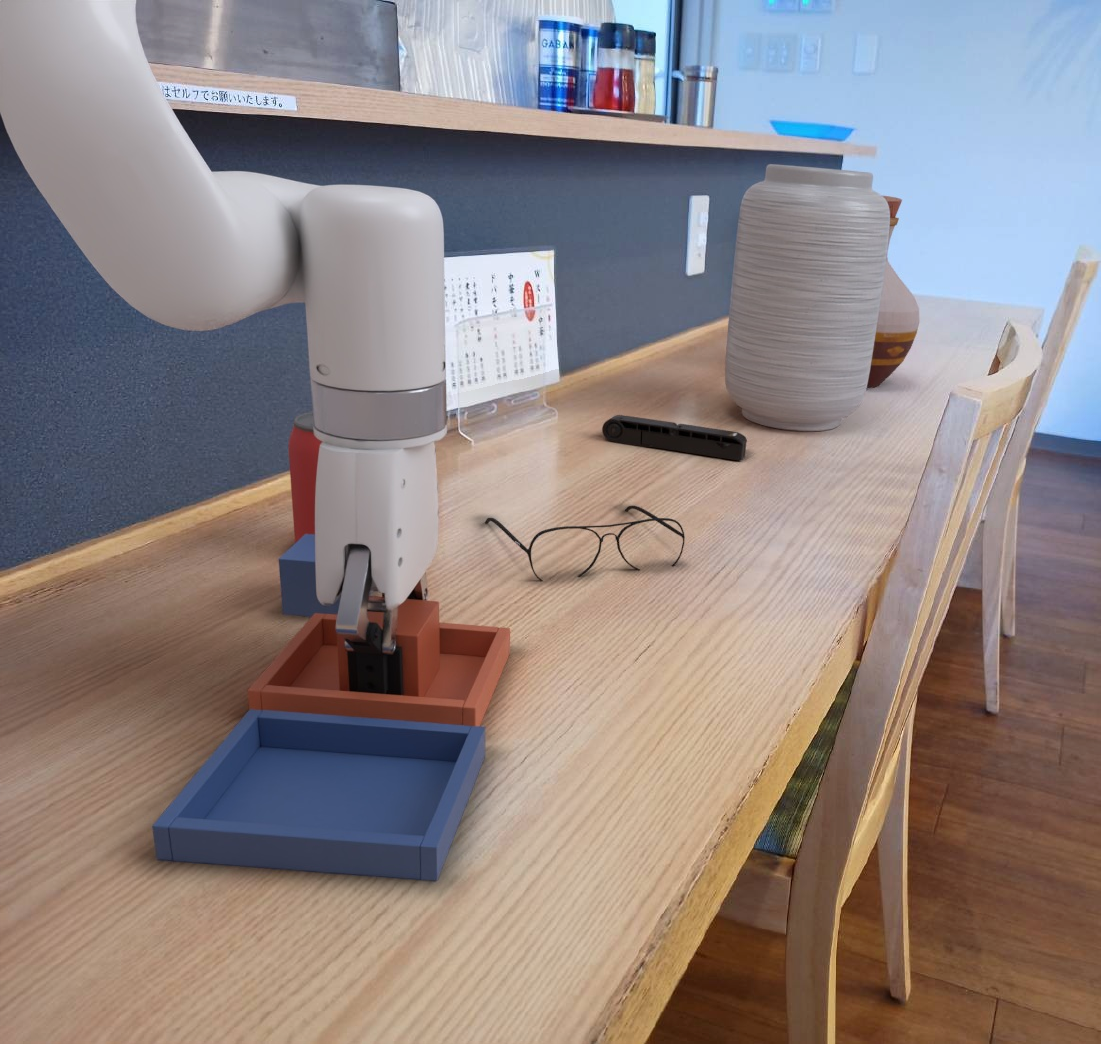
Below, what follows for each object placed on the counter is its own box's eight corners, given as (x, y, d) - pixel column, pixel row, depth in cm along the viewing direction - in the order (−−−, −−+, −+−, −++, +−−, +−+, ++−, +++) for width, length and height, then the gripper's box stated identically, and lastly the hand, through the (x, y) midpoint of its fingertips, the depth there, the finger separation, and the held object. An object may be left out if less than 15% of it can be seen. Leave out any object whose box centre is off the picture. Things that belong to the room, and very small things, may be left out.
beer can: (278, 560, 82) (267, 420, 78) (333, 535, 88) (325, 404, 84) (341, 577, 80) (334, 434, 76) (394, 551, 86) (389, 417, 82)
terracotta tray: (250, 727, 60) (246, 690, 59) (317, 645, 70) (314, 612, 69) (475, 745, 60) (475, 707, 59) (510, 660, 70) (510, 627, 69)
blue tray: (157, 869, 48) (150, 825, 47) (253, 746, 58) (249, 708, 57) (437, 891, 48) (436, 847, 47) (485, 764, 58) (485, 726, 57)
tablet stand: (601, 440, 123) (602, 417, 122) (608, 435, 125) (609, 412, 124) (740, 462, 119) (743, 438, 118) (745, 457, 121) (748, 433, 120)
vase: (691, 412, 139) (711, 159, 128) (775, 394, 154) (800, 166, 142) (809, 446, 128) (843, 171, 116) (889, 423, 142) (926, 177, 130)
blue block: (282, 621, 73) (278, 558, 71) (309, 592, 77) (305, 533, 76) (351, 626, 73) (348, 564, 71) (373, 597, 77) (370, 538, 76)
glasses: (527, 590, 81) (526, 531, 80) (483, 543, 94) (481, 491, 92) (686, 571, 87) (688, 516, 86) (624, 529, 100) (624, 481, 99)
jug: (802, 364, 178) (823, 189, 167) (902, 374, 177) (929, 198, 166) (802, 388, 160) (825, 193, 149) (914, 399, 158) (945, 203, 148)
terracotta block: (339, 700, 62) (335, 629, 60) (366, 661, 67) (363, 594, 65) (419, 706, 62) (417, 635, 60) (440, 668, 67) (439, 601, 65)
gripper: (365, 372, 66) (376, 618, 72) (252, 443, 50) (279, 750, 56) (477, 381, 66) (478, 626, 72) (401, 454, 50) (411, 760, 56)
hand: (391, 677), depth 64 cm, fingers closed on terracotta block, 5 cm apart
